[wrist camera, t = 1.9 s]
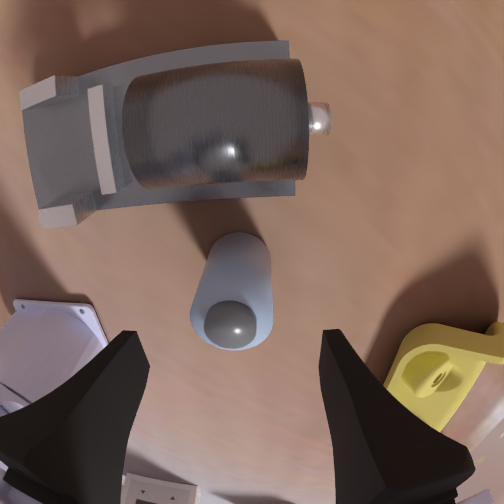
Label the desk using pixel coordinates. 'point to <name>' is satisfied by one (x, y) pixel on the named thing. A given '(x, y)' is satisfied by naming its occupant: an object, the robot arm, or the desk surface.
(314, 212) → the desk surface
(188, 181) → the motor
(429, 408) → the plastic component
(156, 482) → the thermostat
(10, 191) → the desk surface
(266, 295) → the grey capped cylinder
